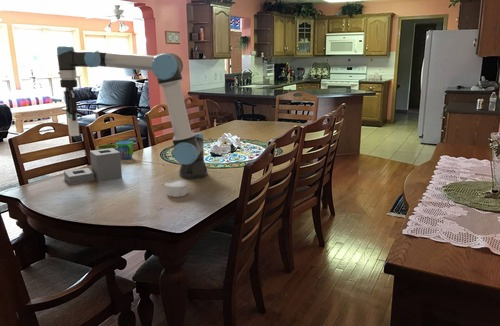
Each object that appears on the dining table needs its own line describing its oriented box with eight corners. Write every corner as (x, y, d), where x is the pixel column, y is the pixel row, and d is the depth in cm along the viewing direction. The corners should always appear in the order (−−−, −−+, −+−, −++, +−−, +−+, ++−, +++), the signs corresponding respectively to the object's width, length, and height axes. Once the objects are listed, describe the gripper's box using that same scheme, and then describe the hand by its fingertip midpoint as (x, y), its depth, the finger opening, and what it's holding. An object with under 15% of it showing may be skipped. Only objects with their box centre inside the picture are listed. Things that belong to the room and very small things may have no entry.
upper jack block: (122, 177, 214) (119, 152, 210) (98, 181, 207) (96, 155, 203) (114, 172, 223) (112, 147, 220) (92, 176, 217) (89, 150, 213)
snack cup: (112, 156, 257) (111, 141, 254) (128, 154, 263) (127, 139, 261) (122, 161, 245) (121, 145, 242) (138, 159, 252) (137, 143, 249)
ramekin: (178, 188, 198) (177, 178, 197) (194, 193, 192) (193, 182, 190) (160, 194, 190) (159, 183, 189) (175, 199, 183) (175, 188, 182)
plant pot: (97, 168, 231) (95, 149, 228) (98, 163, 242) (97, 144, 239) (118, 167, 234) (117, 148, 231) (119, 162, 245) (118, 143, 242)
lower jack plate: (94, 180, 210) (93, 172, 209) (70, 184, 203) (69, 176, 202) (88, 174, 219) (87, 167, 218) (64, 178, 212) (63, 171, 211)
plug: (79, 135, 204) (77, 113, 201) (71, 136, 202) (68, 114, 199) (77, 134, 207) (75, 112, 205) (69, 134, 205) (66, 113, 202)
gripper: (56, 78, 202) (61, 124, 208) (64, 80, 189) (69, 129, 195) (72, 77, 206) (76, 123, 212) (80, 79, 193) (85, 128, 199)
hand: (73, 126), depth 204 cm, fingers closed on plug, 4 cm apart
